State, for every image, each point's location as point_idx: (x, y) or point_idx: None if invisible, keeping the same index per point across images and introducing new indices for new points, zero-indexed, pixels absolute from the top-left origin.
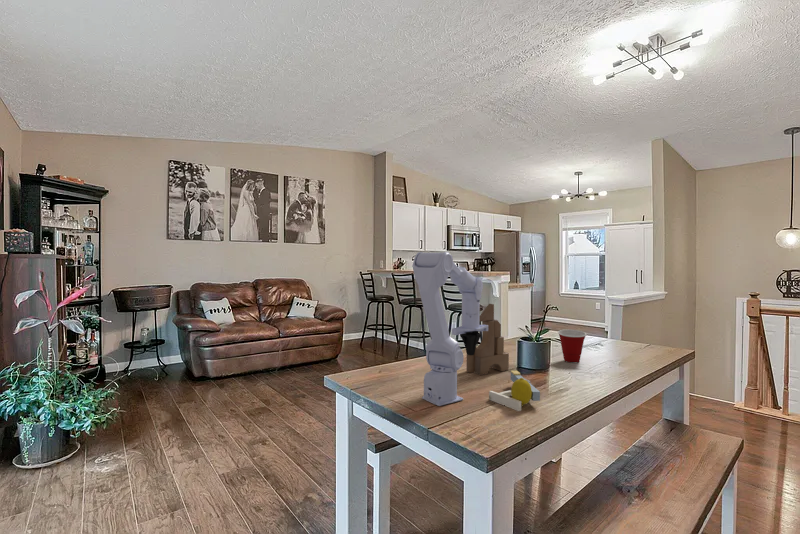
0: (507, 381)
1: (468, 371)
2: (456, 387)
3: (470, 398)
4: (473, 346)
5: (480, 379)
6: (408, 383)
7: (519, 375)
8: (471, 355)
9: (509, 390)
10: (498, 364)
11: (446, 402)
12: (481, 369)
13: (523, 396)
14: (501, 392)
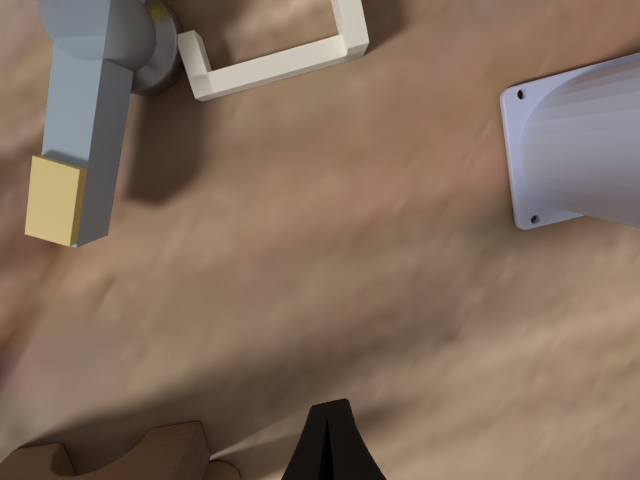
0: (109, 293)
1: (236, 473)
2: (588, 88)
3: (444, 111)
4: (322, 472)
5: (233, 362)
6: (595, 409)
7: (53, 151)
8: (341, 399)
9: (200, 93)
10: (53, 473)
11: (626, 60)
12: (182, 443)
13: None
14: (265, 75)
